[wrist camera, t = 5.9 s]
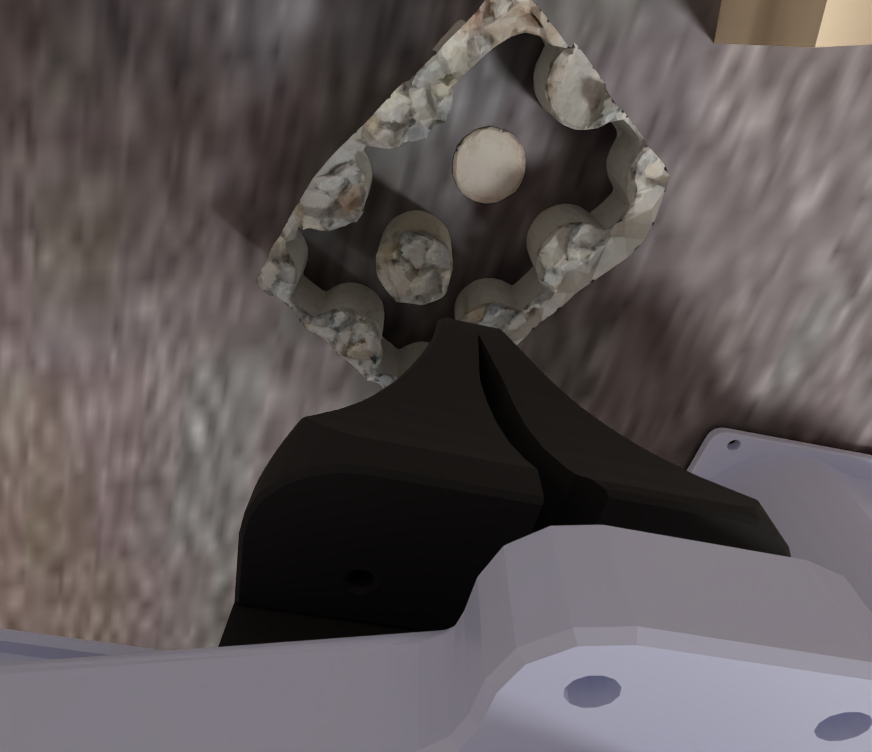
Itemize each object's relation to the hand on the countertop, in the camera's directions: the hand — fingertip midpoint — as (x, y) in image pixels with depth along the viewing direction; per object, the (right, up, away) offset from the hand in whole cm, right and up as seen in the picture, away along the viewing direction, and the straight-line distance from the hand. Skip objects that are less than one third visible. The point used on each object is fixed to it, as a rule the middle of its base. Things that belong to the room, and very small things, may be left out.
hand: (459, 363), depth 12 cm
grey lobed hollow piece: (0, +5, +6) cm, 8 cm away
